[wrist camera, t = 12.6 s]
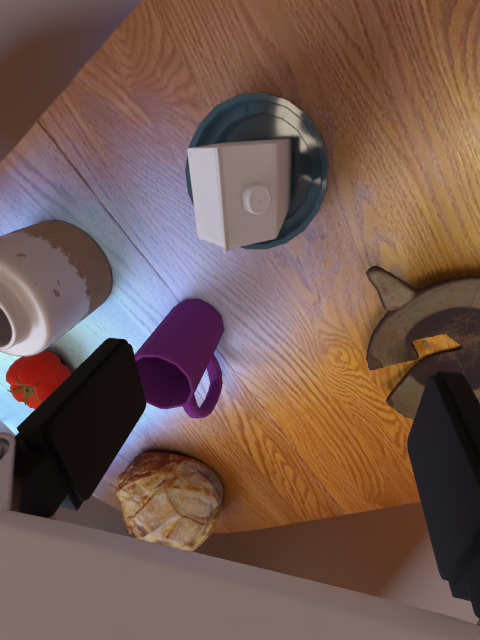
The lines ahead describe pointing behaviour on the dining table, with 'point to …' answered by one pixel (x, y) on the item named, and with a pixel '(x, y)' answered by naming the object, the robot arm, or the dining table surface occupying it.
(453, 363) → the broken pan
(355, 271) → the dining table surface
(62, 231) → the vase
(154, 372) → the mug
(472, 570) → the robot arm
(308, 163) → the shallow pet bowl
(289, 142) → the milk carton
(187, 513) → the bread
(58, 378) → the tomato
